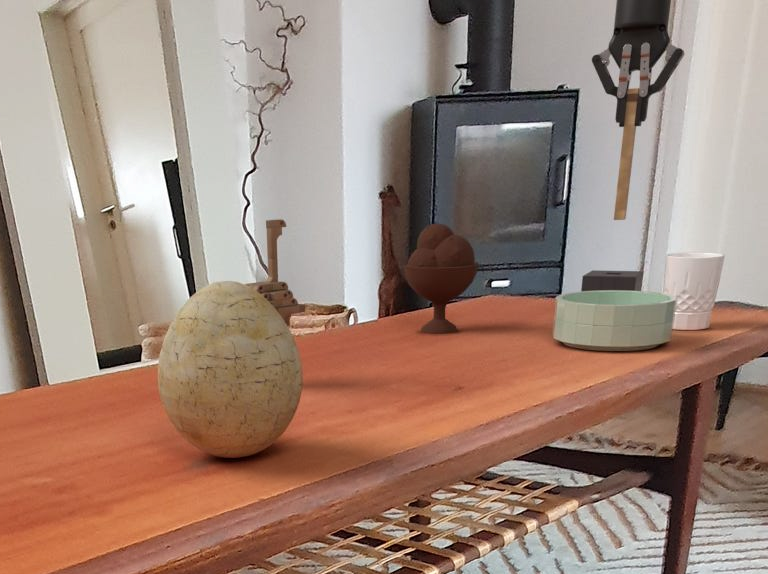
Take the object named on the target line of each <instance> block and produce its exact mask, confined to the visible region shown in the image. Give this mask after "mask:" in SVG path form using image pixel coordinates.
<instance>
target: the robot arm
mask: <svg viewBox="0 0 768 574" xmlns="http://www.w3.org/2000/svg"><path fill="white" fill-rule="evenodd" d="M671 4H672V0H616V3H615V14H614V25H613V33H612V36H611V38H610V41H609V42H608V47H606V49H604V50H603V51H601V52H600V53H598V54H594V55H593V56H592V57H591V62H592V66H593V67H594V69H595V72H596V75H597V76H598V78H599V80H600V83H601V85H602V88H603V90H604V91H605V94H607V95H610V96H613V97H615V98H616V108H615V109H616V110H615V119H614V120H615V123H616V124H618V127H619V128H624V121H625V112H626V102H627V92H628V89H630V83H631V80H632V74H633V72H636V71H639V87H638V88H639V98H637V106H636V115H635V126H636V127H641V126H642V122H646V120H647V118H648V117H647V116H648V109H649V101H650V98H651V96H652V95H655V94H656V93H660V92H661V91H662V90H663V89H664V87H665V86H666V84H667V83H668V81H669V80H670V79H671V77H672V75H673V74H674V73H675V70H676V69H677V67H678V66H679V65H680V62H681V61H682V60H683V58H684V57H685V51H684V49H683V48H681V47H678V46H675V45H673V44H672V43H671V37H670V36H669V31H668V30H669V21H670V14H671V12H670V11H671ZM665 52H666V53H665ZM664 53H665V54H666V55H665V56H664V57H665V58H664V61H665V62H666V63H665V65H664V67H663V68H662V70H661V72H660V73H659V74H658V76H657V78H656V79H655V81H654V82H653V83H652V84H651V82H652V76H653V75H652V74H653V72H652V71H653V68H654V67H655V65H656V64H657V63H658V62H659V60H660V59H661V57H662V56H663V55H664ZM611 56H612V59H613V60H614V62H615V63H616V65H617V67H618V69H619V73H618V74H619V75H618V85H617V86H616V85H615V83H614V80H613V78H612V75H611V74H610V71H609V69H608V67H609V65H610V63H611V61H610V57H611Z"/></svg>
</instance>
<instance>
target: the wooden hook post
mask: <svg viewBox="0 0 768 574" xmlns="http://www.w3.org/2000/svg"><path fill="white" fill-rule="evenodd" d="M286 227H287V222H286V221H285V220H284V219H282V218H281V219H279V218H277V219H266V220H265V228H266V250H267V279H266V280H264V281H263V280H262V281H257V282H249V283H245V284H244V285H247V286H249V287H251V288H252V289H254V290H255V291H257V292H258V293H260V294H261V295H262V296H263V297H264V298H266V299H267V300H268V301H269V302H270V303H271V304H272V305H273V307H274V308H275V309H276V310H277V312H278V313H279V314H280V315H281V317H282V318H283V320H284V321H285V323H286V325H287V326H288V327H290V326H291V318H292V315H295V314H301V313H305V312H306V304H304V303H299V302H298V299H296V298H295V297H294V293H293V292H292V290H290V289H289V285H288V283H286V281H279V264H278V239H279V237H280V236H282V235H283V228H286Z"/></svg>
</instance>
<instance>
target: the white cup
mask: <svg viewBox="0 0 768 574" xmlns="http://www.w3.org/2000/svg"><path fill="white" fill-rule="evenodd" d="M725 256H726V255H725V254H723V253H719V252H698V251H697V252H695V251H694V252H675V253H674V252H673V253H667V254H666V255H665V261H664V262H665V263H664V272H663V273H664V274H663V285H662V293H664V294H669V295H673V296H675V297H677V298H678V299H677V306H676V313H675V320H674V327H673V330H677V331H699V330H705V329H708V328H710V324H711V319H712V314H713V309H714V307H715V304H716V303H715V302H716V299H717V294H718V290H719V286H720V282H721V281H720V280H721V277H722V276H721V275H722V272H723V271H722V270H723V266H724V261H725Z"/></svg>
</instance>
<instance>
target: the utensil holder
mask: <svg viewBox="0 0 768 574" xmlns="http://www.w3.org/2000/svg"><path fill="white" fill-rule="evenodd" d="M643 278H644V270H590V271H589V272H587V273H585V274H584V275H582V279H581V287H580V288H581V289H580V291H597V290H628V291H642V286H643V280H644V279H643Z"/></svg>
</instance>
